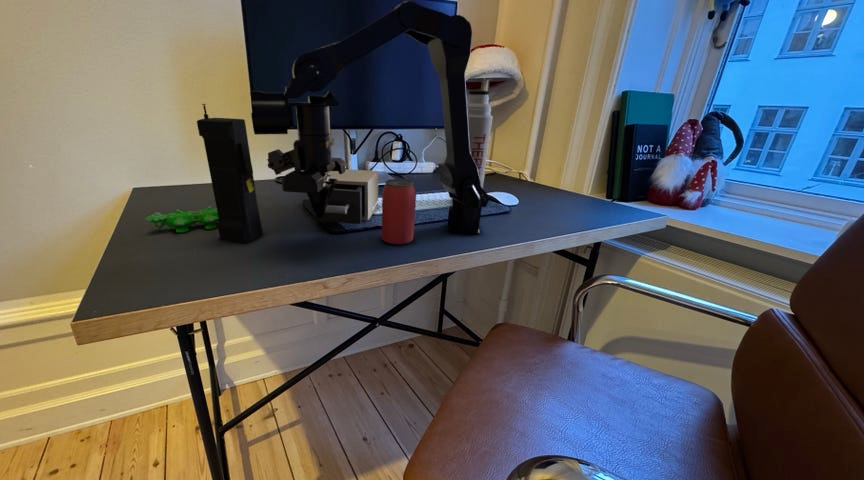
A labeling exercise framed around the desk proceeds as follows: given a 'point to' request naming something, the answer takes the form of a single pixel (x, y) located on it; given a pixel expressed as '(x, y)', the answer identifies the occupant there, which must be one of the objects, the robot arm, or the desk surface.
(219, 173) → the portable radio
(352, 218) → the drawer
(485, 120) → the thermos bottle
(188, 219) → the crocodile figurine
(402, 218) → the beer can
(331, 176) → the small drawer cabinet
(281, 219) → the desk surface
